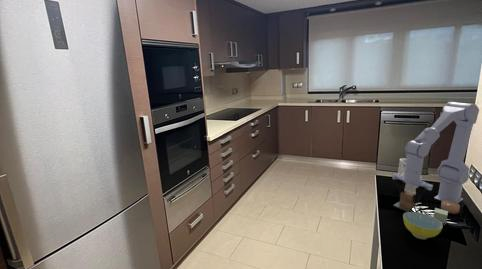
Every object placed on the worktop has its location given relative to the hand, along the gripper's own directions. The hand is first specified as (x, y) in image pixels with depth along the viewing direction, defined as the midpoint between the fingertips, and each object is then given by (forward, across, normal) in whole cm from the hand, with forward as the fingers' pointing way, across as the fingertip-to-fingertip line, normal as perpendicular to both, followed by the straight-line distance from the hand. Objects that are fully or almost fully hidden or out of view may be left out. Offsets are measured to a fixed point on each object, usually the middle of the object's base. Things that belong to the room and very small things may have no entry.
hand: (408, 199), depth 111 cm
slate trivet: (+3, 0, 0) cm, 3 cm away
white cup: (+4, -5, +12) cm, 13 cm away
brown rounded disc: (+4, +11, +12) cm, 17 cm away
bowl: (+4, +12, -18) cm, 22 cm away
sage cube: (+3, +12, -1) cm, 13 cm away
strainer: (+4, -11, +21) cm, 24 cm away
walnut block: (+3, 0, 0) cm, 3 cm away
